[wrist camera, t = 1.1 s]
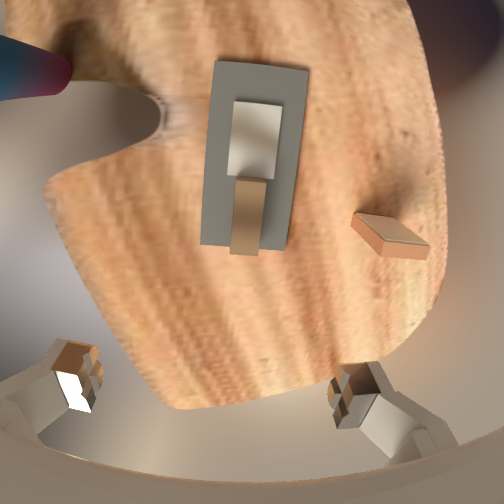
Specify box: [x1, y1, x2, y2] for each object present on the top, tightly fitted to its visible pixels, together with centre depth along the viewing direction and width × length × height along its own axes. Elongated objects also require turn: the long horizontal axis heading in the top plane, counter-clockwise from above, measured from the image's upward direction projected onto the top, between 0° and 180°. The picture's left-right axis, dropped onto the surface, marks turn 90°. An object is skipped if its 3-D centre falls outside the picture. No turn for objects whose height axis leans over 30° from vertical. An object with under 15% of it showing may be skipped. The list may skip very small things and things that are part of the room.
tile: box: [351, 213, 430, 260], centre depth 33 cm, size 2×6×9 cm, turn 84°
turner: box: [227, 101, 282, 256], centre depth 32 cm, size 16×5×3 cm, turn 174°
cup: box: [0, 35, 72, 101], centre depth 20 cm, size 7×7×15 cm
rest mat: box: [200, 61, 309, 251], centre depth 33 cm, size 21×10×1 cm, turn 174°
